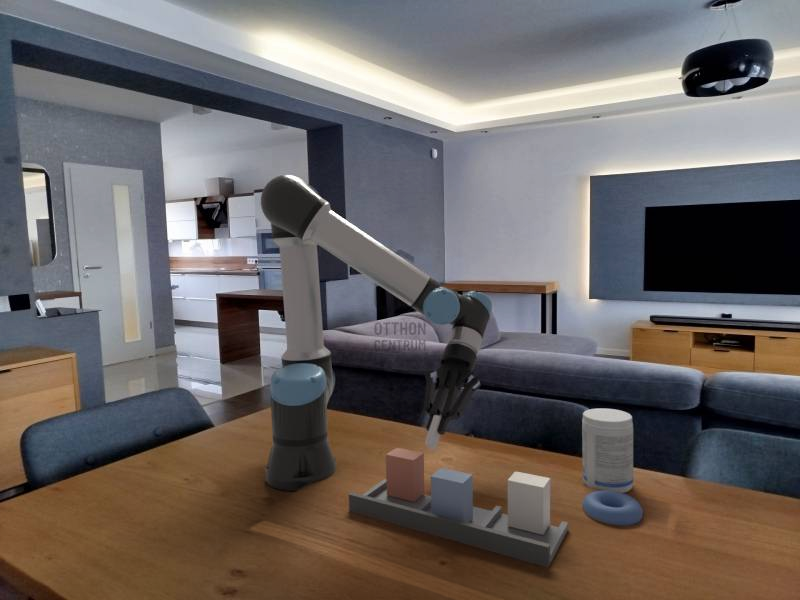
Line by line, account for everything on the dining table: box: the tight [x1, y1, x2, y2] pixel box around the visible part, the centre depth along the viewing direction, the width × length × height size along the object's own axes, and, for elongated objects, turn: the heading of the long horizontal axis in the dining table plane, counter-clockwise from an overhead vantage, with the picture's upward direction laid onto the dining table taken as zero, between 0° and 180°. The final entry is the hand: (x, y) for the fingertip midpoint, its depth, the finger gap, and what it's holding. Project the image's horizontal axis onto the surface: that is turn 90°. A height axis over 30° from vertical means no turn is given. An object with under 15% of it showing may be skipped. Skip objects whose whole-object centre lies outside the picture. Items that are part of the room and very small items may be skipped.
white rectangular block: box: [507, 470, 551, 535], centre depth 90 cm, size 6×4×8 cm, turn 59°
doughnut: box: [581, 490, 644, 527], centre depth 95 cm, size 10×10×5 cm
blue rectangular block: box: [430, 467, 474, 523], centre depth 92 cm, size 6×4×8 cm, turn 59°
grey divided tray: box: [348, 478, 569, 568], centre depth 93 cm, size 36×12×4 cm, turn 59°
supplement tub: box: [581, 407, 634, 494], centre depth 108 cm, size 10×10×15 cm
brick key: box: [385, 447, 425, 502], centre depth 102 cm, size 6×4×8 cm, turn 59°
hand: (430, 446), depth 109 cm, fingers closed
